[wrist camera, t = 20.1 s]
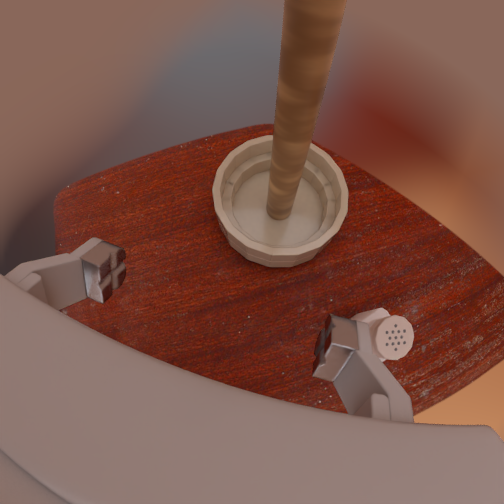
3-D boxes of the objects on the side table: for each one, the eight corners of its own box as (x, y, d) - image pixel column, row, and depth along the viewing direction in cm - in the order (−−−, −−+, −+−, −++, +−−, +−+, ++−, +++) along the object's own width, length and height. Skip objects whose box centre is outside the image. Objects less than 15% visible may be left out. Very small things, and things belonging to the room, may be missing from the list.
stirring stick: (261, 213, 30) (277, -65, 5) (273, 193, 31) (304, -70, 6) (284, 225, 30) (348, -51, 5) (295, 204, 31) (365, -55, 6)
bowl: (195, 232, 30) (185, 213, 26) (255, 145, 33) (256, 118, 29) (302, 291, 29) (312, 282, 24) (351, 193, 32) (365, 170, 27)
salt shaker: (359, 311, 28) (403, 298, 19) (377, 343, 27) (426, 344, 18) (327, 332, 28) (360, 329, 18) (345, 365, 27) (386, 376, 18)
